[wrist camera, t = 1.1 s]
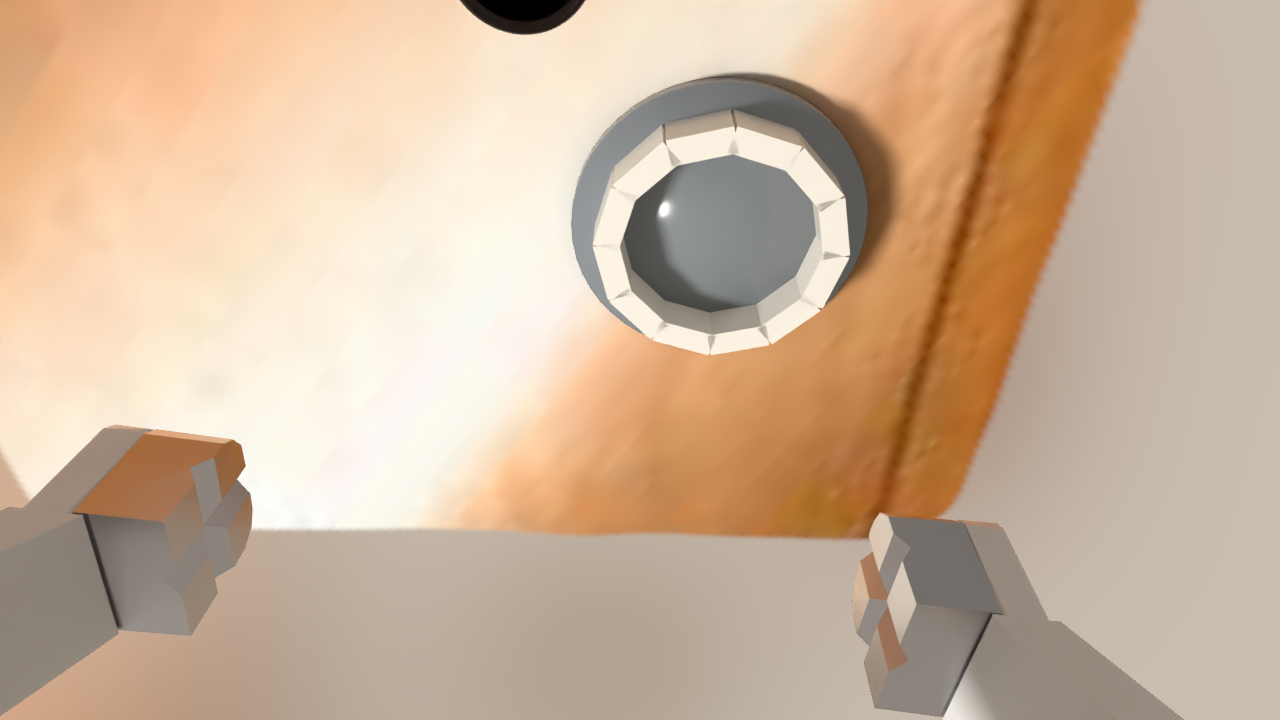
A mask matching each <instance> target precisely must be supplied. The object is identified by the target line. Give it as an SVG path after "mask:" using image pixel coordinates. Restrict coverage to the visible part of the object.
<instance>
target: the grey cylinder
mask: <svg viewBox="0 0 1280 720" xmlns="http://www.w3.org/2000/svg"><path fill="white" fill-rule="evenodd" d="M460 1H461V2H462V4H463V5H464V6H465V7H466V8H467V9H468V10H469V11H470V12H471V13H472V14H473V15H474V16H476V17H477V18H478V19H480V20H481V21H482V22H484V23H486V24H487V25H489V26H491V27H493V28H495V29H498V30H501V31H504V32H507V33H512V34H519V35H531V34H539V33H543V32H546V31H549V30H552V29H554V28H556V27H558V26H560V25H562V24H563V23H565V22H566V21H567V20H569V19H570V18H571V17H572V16H573V15H574V14H575V13H576V12H577V11H578V10H579V9H580V7H581V6H582V5H583V3H584V2H585V0H460Z"/></svg>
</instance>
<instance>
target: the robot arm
mask: <svg viewBox="0 0 1280 720" xmlns="http://www.w3.org/2000/svg"><path fill="white" fill-rule="evenodd" d="M244 468H245V461H244V456H243V452H242V447H241V445H240V444H239V443H237V442H236V441H234V440H231V439H224V438H216V437H209V436H202V435H194V434H187V433H179V432H172V431H165V430H157V429H156V430H151V429H145V428H137V427H130V426H122V425H113V426H110V427H107V428H104V429H102V430H101V431H100V432H99V433H98V434H97V435H96V436H95V437H94V438H93V439H92V440H91V441H90V442H89V443H88V444H87V445H86V446H85V447H84V448H83V449H82V450H81V451H80V452H79V453H78V454H77V455H76V456H75V457H74V458H73V459H72V460H71V461H70V462H69V463H68V464H67V465H66V466H65V467H64V468H63V469H62V470H61V471H60V472H59V473H58V474H57V475H56V476H55V477H54V478H53V479H52V480H51V481H50V482H49V483H48V484H47V485H46V486H45V487H44V488H43V489H42V490H41V491H40V492H39V493H38V494H37V495H36V496H35V497H34V498H33V499H32V500H31V501H30V502H29V503H28V504H27V505H26V506H25V507H24V508H15V507H9V508H6V509H4V510H1V511H0V716H1V715H2V714H4V713H5V712H6V711H8V710H9V709H11V708H12V707H14V706H15V705H17V704H18V703H19V702H21V701H22V700H24V699H25V698H27V697H28V696H29V695H31V694H33V693H34V692H35V691H37V690H38V689H40V688H41V687H43V686H44V685H46V684H47V683H48V682H50V681H51V680H53V679H54V678H56V677H57V676H58V675H60V674H61V673H63V672H64V671H66V670H67V669H69V668H70V667H71V666H73V665H74V664H76V663H77V662H79V661H80V660H82V659H83V658H84V657H86V656H87V655H89V654H90V653H92V652H93V651H94V650H96V649H97V648H99V647H100V646H101V645H103V644H104V643H106V642H107V641H109V640H110V639H112V638H113V637H115V636H116V635H118V630H126V631H139V632H151V633H164V634H177V635H190V636H191V635H192V634H193V632H194V630H195V629H196V627H197V626H198V624H199V622H200V621H201V619H202V618H203V616H204V614H205V613H206V611H207V610H208V608H209V607H210V605H211V603H212V602H213V600H214V598H215V597H216V595H217V593H218V592H217V587H216V582H215V577H217V576H218V575H220V574H222V573H224V572H226V571H227V570H229V569H231V568H232V567H234V566H235V564H236V563H237V561H238V559H239V558H240V556H241V554H242V553H243V551H244V549H245V546H246V543H247V540H248V536H249V533H250V530H251V526H252V502H251V496H250V493H249V492H248V491H247V490H246V489H245V488H244V487H243V486H242V485H241V484H240V482H239V481H238V480H237V478H238V477H239V475H240V474H241V472H242V471H243V469H244ZM869 538H870V542H871V546H872V549H873V552H872V553H871V554H869V555H868V556H867V557H865V558H864V559H862V560H861V561H860V563H859V566H858V569H857V573H856V576H855V579H854V588H853V598H852V604H853V616H854V622H855V626H856V631H857V634H858V635H859V636H860V637H861V638H862V639H863V640H864V641H865V642H866V643H867V644H868V645H869V646H870V647H869V650H868V652H867V655H866V658H865V661H864V666H865V670H866V674H867V679H868V682H869V687H870V691H871V695H872V699H873V703H874V707H875V708H878V709H887V710H893V711H901V712H908V713H916V714H923V715H931V716H939V717H943V719H942V720H1184V719H1182V718H1181V717H1180V716H1179V715H1177V714H1176V713H1175V712H1174V711H1172V710H1171V709H1170V708H1168V707H1167V706H1166V705H1165V704H1164V703H1162V702H1161V701H1160V700H1158V699H1157V698H1156V697H1155V696H1154V695H1152V694H1151V693H1150V692H1149V691H1147V690H1146V689H1145V688H1143V687H1142V686H1141V685H1140V684H1138V683H1137V682H1136V681H1135V680H1133V679H1132V678H1131V677H1130V676H1128V675H1127V674H1126V673H1125V672H1123V671H1122V670H1121V669H1119V668H1118V667H1117V666H1116V665H1114V664H1113V663H1112V662H1111V661H1109V660H1108V659H1107V658H1106V657H1104V656H1103V655H1102V654H1101V653H1099V652H1098V651H1097V650H1095V649H1094V648H1093V647H1092V646H1091V645H1089V644H1088V643H1087V642H1085V641H1084V640H1083V639H1082V638H1080V637H1079V636H1078V635H1076V634H1075V633H1074V632H1073V631H1072V630H1070V629H1069V628H1068V627H1067V626H1065V625H1064V624H1063V623H1061V622H1057V621H1049V620H1048V618H1047V616H1046V614H1045V612H1044V610H1043V608H1042V606H1041V603H1040V601H1039V599H1038V598H1037V595H1036V593H1035V591H1034V589H1033V587H1032V585H1031V583H1030V581H1029V579H1028V577H1027V575H1026V573H1025V571H1024V569H1023V568H1022V565H1021V563H1020V561H1019V559H1018V557H1017V555H1016V553H1015V551H1014V549H1013V547H1012V545H1011V543H1010V541H1009V539H1008V537H1007V535H1006V533H1005V531H1004V529H1003V528H1001V527H1000V526H999V525H998V524H997V523H986V522H975V521H963V520H957V521H953V520H945V519H935V518H926V517H916V516H907V515H898V514H888V513H880V514H879V515H878V516H877V518H876V519H875V520H874V522H873V525H872V528H871V531H870V534H869Z"/></svg>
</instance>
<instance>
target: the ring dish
mask: <svg viewBox="0 0 1280 720" xmlns="http://www.w3.org/2000/svg"><path fill="white" fill-rule="evenodd" d="M867 220H868V200H867V193H866V186H865V182H864V178H863V175H862V172H861V169H860V166H859V164H858V162H857V160H856V158H855V155H854V153H853V151H852V149H851V147H850V145H849V143H848V142H847V140H846V139H845V137H844V136H843V135H842V133H841V132H840V130H839V129H838V127H837V126H836V125H835V124H834V123H833V122H832V121H831V120H830V119H829V118H828V117H827V116H826V115H825V114H824V113H823V112H822V111H820V110H819V109H818V108H817V107H815V106H814V105H813V104H812V103H810V102H809V101H807V100H805V99H803V98H802V97H800V96H798V95H797V94H795V93H793V92H791V91H788V90H786V89H783V88H781V87H778V86H776V85H773V84H769V83H765V82H761V81H757V80H752V79H743V78H734V77H729V78H708V79H701V80H695V81H690V82H686V83H683V84H679V85H676V86H672V87H669V88H667V89H665V90H662V91H660V92H658V93H656V94H653V95H651V96H649V97H648V98H646V99H644V100H643V101H641V102H639V103H638V104H636V105H634V106H633V107H632V108H630V109H629V110H628V111H627V112H625V113H624V114H623V115H622V116H620V117H619V118H618V119H617V120H616V121H615V122H614V123H613V124H612V125H611V126H610V127H609V128H608V129H607V130H606V131H605V132H604V134H603V135H602V136H601V138H600V139H599V140H598V142H597V143H596V144H595V146H594V147H593V149H592V151H591V152H590V154H589V156H588V158H587V160H586V162H585V163H584V166H583V168H582V171H581V174H580V176H579V179H578V182H577V186H576V191H575V196H574V201H573V207H572V222H571V226H572V239H573V245H574V249H575V254H576V258H577V261H578V263H579V266H580V269H581V271H582V274H583V276H584V277H585V279H586V281H587V283H588V285H589V286H590V288H591V290H592V291H593V292H594V294H595V295H596V296H597V298H598V299H599V300H600V302H601V303H602V304H603V305H604V306H605V307H606V308H607V309H608V310H609V311H610V312H611V313H612V314H613V315H615V316H616V317H617V318H619V319H620V320H621V321H622V322H624V323H625V324H626V325H628V326H630V327H631V328H633V329H635V330H636V331H638V332H640V333H642V334H644V335H646V336H647V337H648V338H649V339H651V338H653V341H656V342H660V343H664V344H668V345H672V346H675V347H679V348H683V349H687V350H691V351H694V352H698V353H702V354H706V355H708V354H709V352H711V355H715V354H721V353H727V352H733V351H738V350H744V349H750V348H756V347H762V346H767V345H769V342H770V343H771V344H773V343H774V342H776V341H777V340H779V339H780V338H782V337H783V336H785V335H786V334H787V333H789V332H790V331H792V330H793V329H795V328H796V327H798V326H799V325H801V324H802V323H804V322H805V321H806V320H808V319H809V318H811V317H812V316H814V315H815V314H817V313H818V312H820V310H821V309H823V307H824V306H825V305H826V304H827V303H828V302H829V301H830V300H831V299H832V298H833V297H834V295H835V294H836V293H837V292H838V290H839V289H840V288H841V287H842V285H843V284H844V283H845V281H846V279H847V278H848V276H849V274H850V273H851V271H852V270H853V268H854V265H855V263H856V261H857V259H858V257H859V254H860V251H861V248H862V245H863V242H864V238H865V233H866V227H867Z"/></svg>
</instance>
